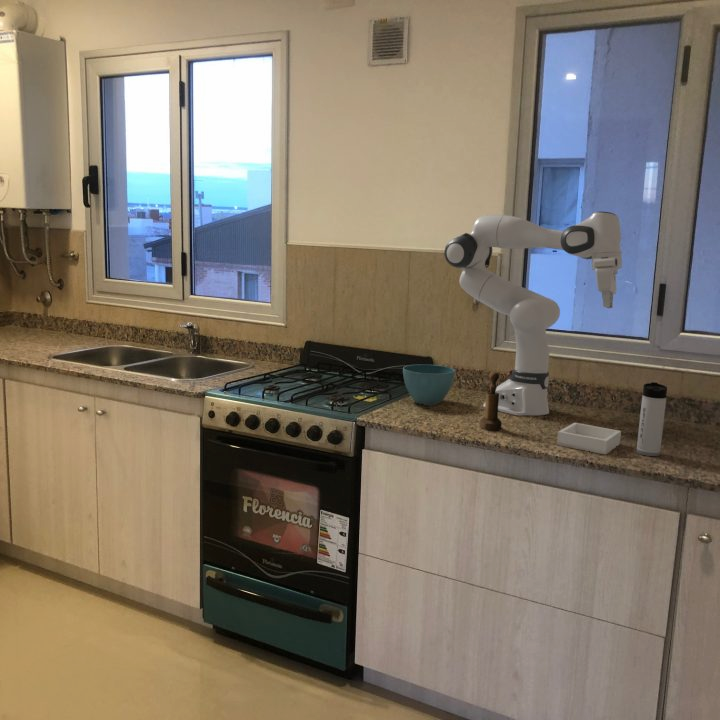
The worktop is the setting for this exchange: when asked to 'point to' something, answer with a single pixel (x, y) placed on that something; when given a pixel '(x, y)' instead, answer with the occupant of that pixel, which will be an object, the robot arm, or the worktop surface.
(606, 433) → the tray
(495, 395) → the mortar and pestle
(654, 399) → the travel mug
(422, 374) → the teal bowl
